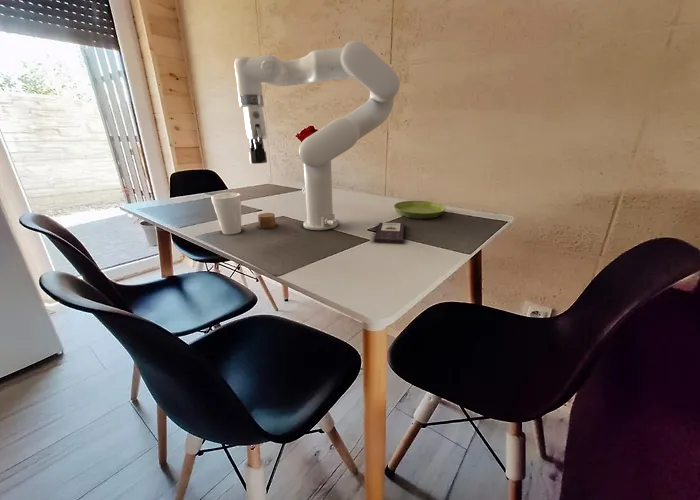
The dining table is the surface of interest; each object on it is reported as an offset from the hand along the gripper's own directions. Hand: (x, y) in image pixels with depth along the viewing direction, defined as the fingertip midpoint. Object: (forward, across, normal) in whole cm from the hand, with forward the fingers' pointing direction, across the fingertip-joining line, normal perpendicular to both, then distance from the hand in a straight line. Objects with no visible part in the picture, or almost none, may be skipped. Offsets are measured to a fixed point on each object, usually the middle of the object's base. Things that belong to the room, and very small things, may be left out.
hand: (258, 159), depth 107 cm
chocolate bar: (+24, -30, -35) cm, 52 cm away
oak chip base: (+24, 0, 0) cm, 24 cm away
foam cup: (+24, 0, +12) cm, 27 cm away
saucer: (+24, -14, -60) cm, 66 cm away
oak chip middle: (+22, 0, 0) cm, 22 cm away
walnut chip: (+1, 0, 0) cm, 1 cm away
